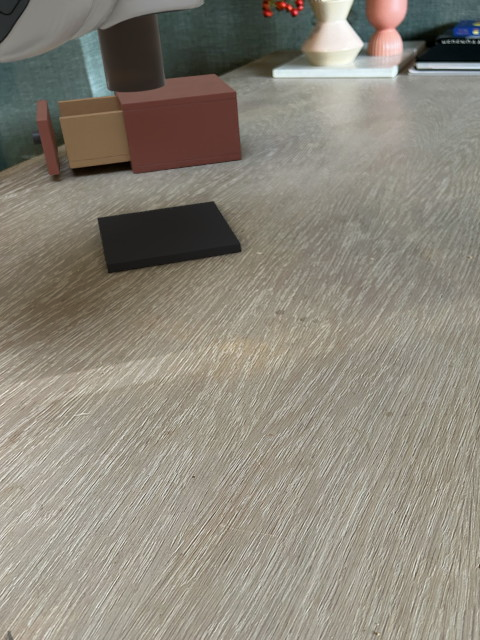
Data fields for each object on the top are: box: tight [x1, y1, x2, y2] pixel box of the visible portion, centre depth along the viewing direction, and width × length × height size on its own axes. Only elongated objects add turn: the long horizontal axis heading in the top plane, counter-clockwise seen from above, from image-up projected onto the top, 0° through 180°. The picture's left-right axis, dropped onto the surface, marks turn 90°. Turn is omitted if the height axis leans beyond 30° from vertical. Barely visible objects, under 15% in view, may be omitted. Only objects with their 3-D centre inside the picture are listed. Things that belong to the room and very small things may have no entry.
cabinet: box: [113, 73, 242, 175], centre depth 86 cm, size 14×13×8 cm
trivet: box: [97, 200, 242, 274], centre depth 64 cm, size 12×12×1 cm
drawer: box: [30, 94, 131, 176], centre depth 84 cm, size 14×11×6 cm
